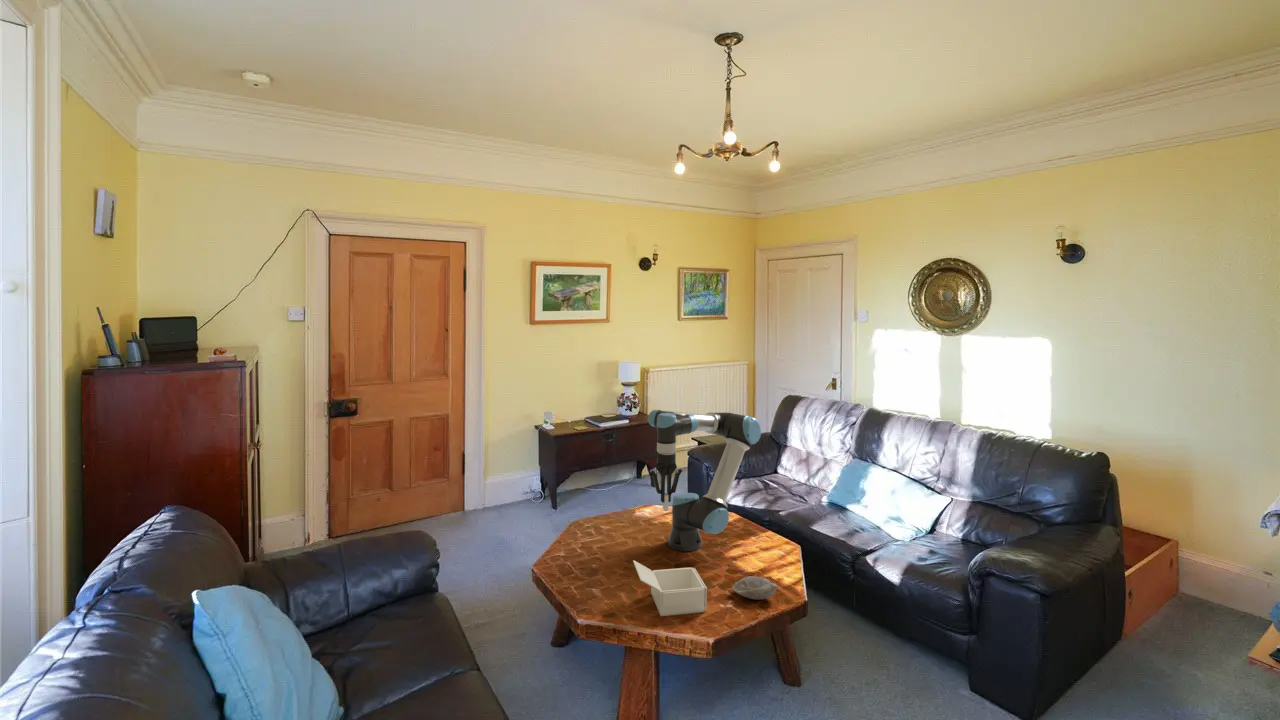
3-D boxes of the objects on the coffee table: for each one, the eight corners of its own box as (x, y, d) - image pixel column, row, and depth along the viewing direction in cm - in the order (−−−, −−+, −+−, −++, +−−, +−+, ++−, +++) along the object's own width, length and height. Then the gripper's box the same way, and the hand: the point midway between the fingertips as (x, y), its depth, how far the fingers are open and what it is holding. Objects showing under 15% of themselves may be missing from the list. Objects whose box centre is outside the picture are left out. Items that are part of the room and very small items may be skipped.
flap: (633, 559, 222) (632, 560, 222) (641, 579, 207) (640, 580, 207) (650, 569, 224) (650, 570, 224) (659, 589, 208) (659, 590, 208)
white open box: (693, 588, 229) (694, 566, 228) (707, 612, 212) (707, 588, 211) (650, 592, 226) (651, 570, 225) (660, 617, 209) (661, 592, 208)
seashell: (726, 581, 225) (755, 570, 216) (746, 579, 233) (775, 568, 224) (733, 607, 221) (763, 596, 212) (754, 604, 228) (783, 593, 219)
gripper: (679, 449, 242) (679, 505, 244) (648, 450, 239) (647, 507, 242) (684, 454, 234) (683, 512, 237) (652, 455, 232) (651, 514, 235)
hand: (665, 509), depth 239 cm, fingers closed
